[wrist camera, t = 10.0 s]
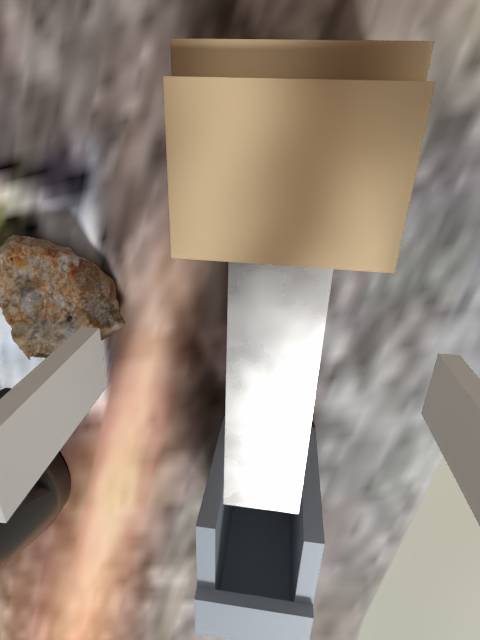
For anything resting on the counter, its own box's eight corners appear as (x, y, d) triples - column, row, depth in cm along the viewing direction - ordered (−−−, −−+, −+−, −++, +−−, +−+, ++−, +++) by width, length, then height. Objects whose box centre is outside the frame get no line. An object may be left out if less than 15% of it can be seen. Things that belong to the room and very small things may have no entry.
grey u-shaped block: (221, 509, 37) (195, 643, 27) (223, 417, 32) (192, 538, 22) (301, 520, 36) (304, 661, 26) (315, 427, 32) (325, 557, 22)
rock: (148, 300, 29) (35, 195, 25) (114, 356, 25) (-29, 242, 20) (86, 338, 34) (-17, 255, 29) (49, 391, 30) (-78, 304, 25)
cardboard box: (221, 211, 25) (171, 257, 15) (222, 83, 22) (161, 30, 12) (351, 218, 24) (394, 273, 14) (371, 86, 21) (445, 32, 11)
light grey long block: (240, 409, 31) (222, 504, 23) (250, 175, 24) (228, 192, 15) (297, 415, 31) (299, 514, 23) (326, 178, 23) (344, 197, 15)
